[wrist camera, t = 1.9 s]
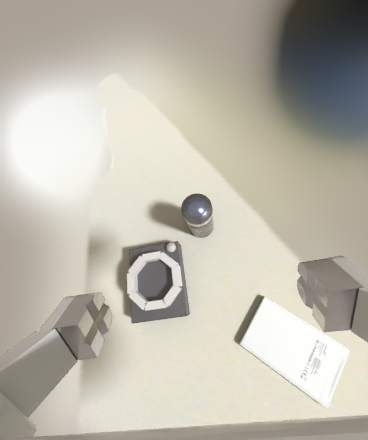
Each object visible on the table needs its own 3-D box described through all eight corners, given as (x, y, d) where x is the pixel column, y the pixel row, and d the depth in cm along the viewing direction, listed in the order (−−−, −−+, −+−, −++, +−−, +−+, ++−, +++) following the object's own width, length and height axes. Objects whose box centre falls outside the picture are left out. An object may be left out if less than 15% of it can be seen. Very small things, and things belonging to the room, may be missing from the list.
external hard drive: (262, 296, 33) (344, 347, 28) (238, 342, 31) (321, 404, 27) (264, 296, 31) (351, 350, 27) (239, 345, 29) (327, 410, 25)
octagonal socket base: (189, 314, 33) (185, 316, 29) (138, 321, 34) (127, 324, 30) (180, 245, 37) (175, 238, 33) (135, 252, 38) (125, 248, 34)
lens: (216, 235, 37) (214, 218, 28) (191, 240, 37) (182, 224, 29) (211, 212, 39) (208, 189, 30) (187, 217, 39) (178, 196, 31)
